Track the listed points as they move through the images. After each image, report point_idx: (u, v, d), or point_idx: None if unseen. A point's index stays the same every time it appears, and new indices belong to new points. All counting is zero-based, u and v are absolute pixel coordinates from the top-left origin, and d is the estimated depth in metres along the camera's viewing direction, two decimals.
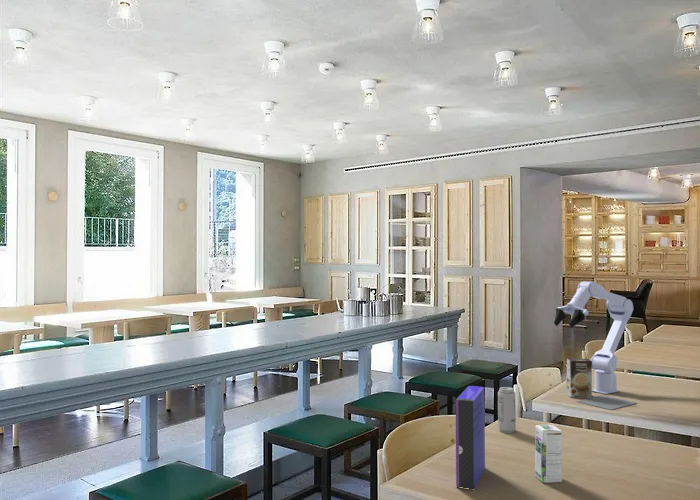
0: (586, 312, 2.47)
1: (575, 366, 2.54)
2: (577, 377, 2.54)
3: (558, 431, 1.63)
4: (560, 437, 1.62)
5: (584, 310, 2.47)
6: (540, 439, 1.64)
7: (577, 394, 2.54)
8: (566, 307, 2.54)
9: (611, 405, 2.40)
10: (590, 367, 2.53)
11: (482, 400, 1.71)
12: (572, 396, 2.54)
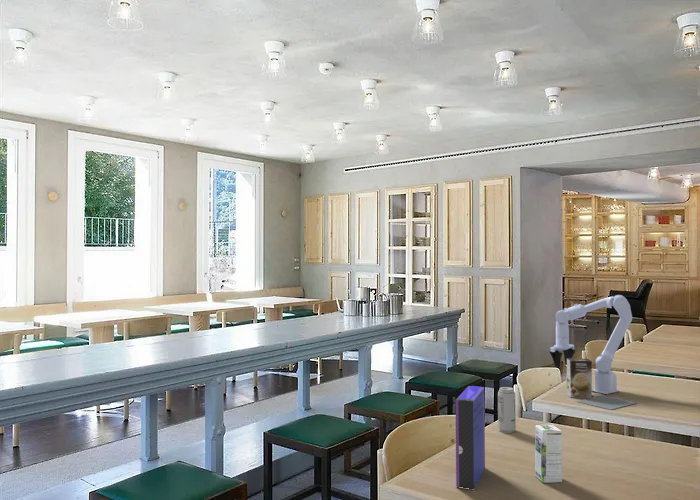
0: (551, 349, 2.67)
1: (575, 366, 2.54)
2: (577, 377, 2.54)
3: (558, 431, 1.63)
4: (560, 437, 1.62)
5: None
6: (540, 439, 1.64)
7: (577, 394, 2.54)
8: None
9: (611, 405, 2.40)
10: (590, 367, 2.53)
11: (482, 400, 1.71)
12: (572, 396, 2.54)
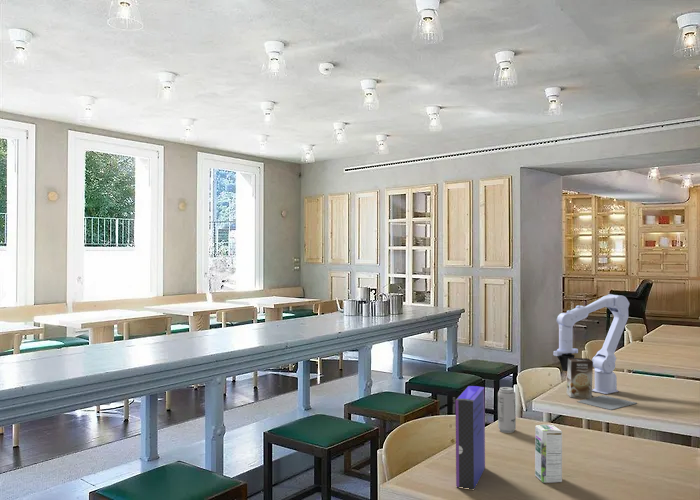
0: (554, 353, 2.59)
1: (576, 366, 2.53)
2: (577, 377, 2.53)
3: (558, 431, 1.63)
4: (560, 437, 1.62)
5: None
6: (540, 439, 1.64)
7: (578, 394, 2.54)
8: None
9: (611, 405, 2.40)
10: (591, 368, 2.52)
11: (482, 400, 1.71)
12: (572, 396, 2.54)
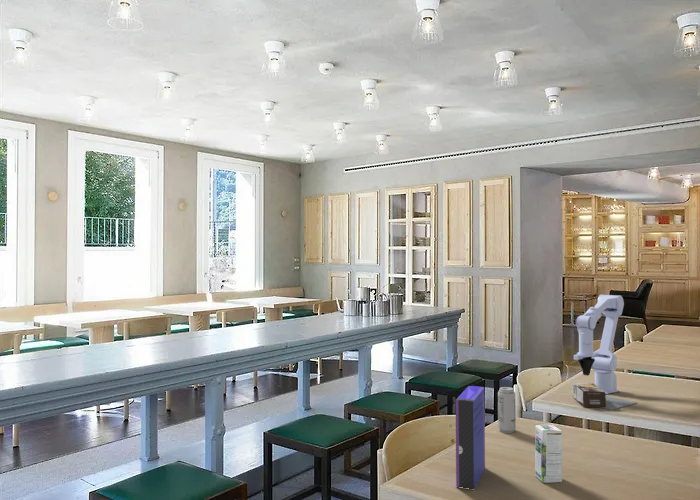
0: (575, 357, 2.50)
1: None
2: None
3: (558, 431, 1.63)
4: (560, 437, 1.63)
5: None
6: (540, 439, 1.64)
7: None
8: None
9: (611, 405, 2.40)
10: None
11: (482, 400, 1.71)
12: None
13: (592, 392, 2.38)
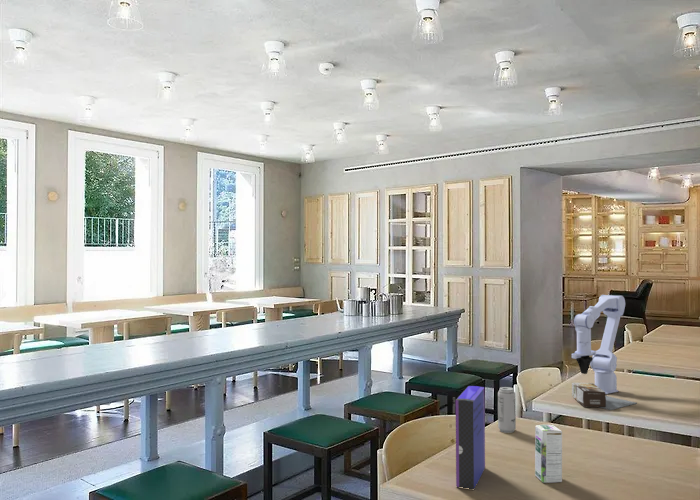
0: (573, 356, 2.51)
1: None
2: None
3: (558, 431, 1.63)
4: (560, 437, 1.62)
5: None
6: (540, 439, 1.64)
7: None
8: None
9: (611, 405, 2.40)
10: None
11: (482, 400, 1.71)
12: None
13: (592, 392, 2.38)
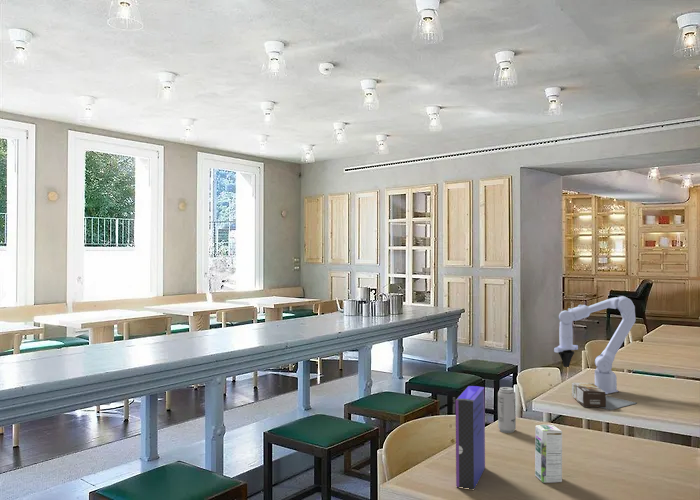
0: (555, 350, 2.66)
1: None
2: None
3: (558, 431, 1.63)
4: (560, 437, 1.62)
5: None
6: (540, 439, 1.64)
7: None
8: None
9: (611, 405, 2.40)
10: None
11: (482, 400, 1.71)
12: None
13: (592, 392, 2.38)
